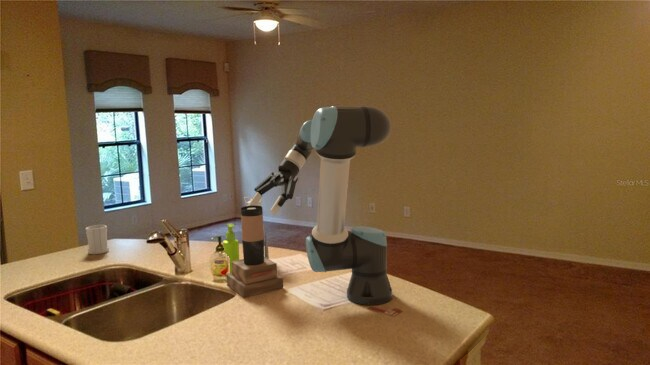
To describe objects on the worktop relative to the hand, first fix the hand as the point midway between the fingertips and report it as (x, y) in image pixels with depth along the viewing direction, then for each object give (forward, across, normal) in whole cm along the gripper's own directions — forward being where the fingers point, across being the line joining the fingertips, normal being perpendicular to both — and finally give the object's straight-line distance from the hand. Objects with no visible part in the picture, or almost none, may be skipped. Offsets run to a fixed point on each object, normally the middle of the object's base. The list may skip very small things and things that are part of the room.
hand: (261, 210), depth 168 cm
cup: (+39, +93, +1) cm, 100 cm away
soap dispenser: (+21, +18, -18) cm, 33 cm away
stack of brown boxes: (+22, 0, -16) cm, 28 cm away
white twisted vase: (+9, +25, -30) cm, 40 cm away
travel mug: (+16, 0, -10) cm, 19 cm away
